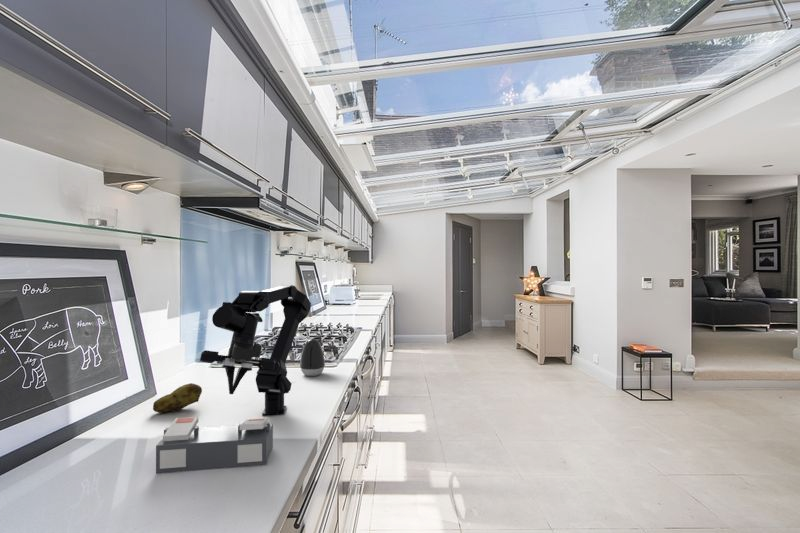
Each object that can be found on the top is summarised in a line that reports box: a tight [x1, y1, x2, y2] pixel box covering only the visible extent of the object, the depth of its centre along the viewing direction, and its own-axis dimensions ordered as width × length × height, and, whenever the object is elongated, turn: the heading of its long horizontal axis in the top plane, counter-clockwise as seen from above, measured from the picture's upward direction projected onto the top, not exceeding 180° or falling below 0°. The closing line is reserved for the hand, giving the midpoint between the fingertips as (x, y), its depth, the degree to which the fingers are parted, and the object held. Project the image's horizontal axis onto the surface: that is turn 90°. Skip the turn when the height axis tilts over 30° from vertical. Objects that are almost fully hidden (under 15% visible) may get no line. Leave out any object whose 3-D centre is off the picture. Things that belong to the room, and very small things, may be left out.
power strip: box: [155, 421, 274, 474], centre depth 91 cm, size 9×23×8 cm, turn 99°
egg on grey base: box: [299, 338, 326, 377], centre depth 165 cm, size 10×10×15 cm
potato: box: [152, 383, 203, 414], centre depth 124 cm, size 8×13×8 cm, turn 99°
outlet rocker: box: [162, 416, 199, 441], centre depth 90 cm, size 7×5×1 cm
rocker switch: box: [239, 417, 269, 430], centre depth 93 cm, size 7×5×1 cm
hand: (231, 394), depth 103 cm, fingers closed
